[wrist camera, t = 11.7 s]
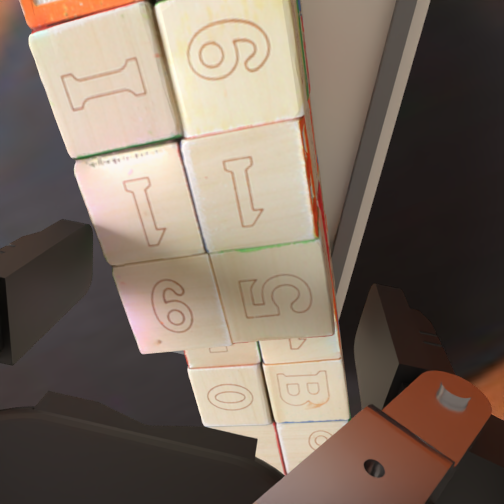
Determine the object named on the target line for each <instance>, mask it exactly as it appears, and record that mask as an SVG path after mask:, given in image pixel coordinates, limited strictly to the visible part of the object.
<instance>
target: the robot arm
mask: <svg viewBox="0 0 504 504" xmlns="http://www.w3.org/2000/svg"><path fill="white" fill-rule="evenodd" d="M92 268H93V232H92V228H91V226H90V225H89V224H84V223H79V222H74V221H69V220H64V219H62V220H60V221H58V222H56V223H54V224H53V225H51V226H49V227H48V228H46V229H44V230H42V231H41V232H37V233H34V234H30V235H26V236H23V237H21V238H19V239H17V240H15V241H14V242H12V243H10V244H9V246H5V247H3V248H1V249H0V363H3V364H7V365H12V366H13V365H14V364H15V363H16V362H17V361H18V360H19V359H20V358H21V357H22V356H23V355H24V354H25V353H26V352H27V351H28V350H29V349H30V348H31V347H32V346H33V345H34V344H35V343H36V342H37V341H38V340H39V339H40V338H41V337H43V336H44V335H45V334H46V333H47V332H48V331H49V330H50V329H51V328H52V327H53V326H54V325H55V324H56V323H57V322H58V321H59V320H60V319H61V318H62V317H63V316H64V315H65V314H66V313H67V312H68V311H69V310H70V309H71V308H72V307H73V306H74V305H75V304H76V303H77V302H78V301H79V300H80V299H81V298H82V297H83V296H84V295H85V294H86V293H87V291H88V289H89V287H90V284H91V281H92ZM436 335H437V334H436V332H435V330H434V328H433V326H432V324H431V322H430V321H429V320H428V319H427V318H426V317H425V316H424V315H423V314H422V313H421V312H420V311H419V310H415V309H410V308H409V305H408V303H407V300H406V298H405V295H404V293H403V291H402V289H399V288H395V287H390V286H385V285H380V284H375V283H374V284H373V285H372V286H371V288H370V291H369V294H368V297H367V300H366V303H365V306H364V309H363V313H362V316H361V319H360V322H359V325H358V329H357V332H356V336H355V342H354V357H355V364H356V371H357V377H358V384H359V391H360V398H361V405H362V411H360V412H359V413H358V414H357V415H356V416H355V417H353V418H352V419H351V420H350V421H349V422H348V423H346V424H345V425H344V426H343V427H342V428H341V429H339V430H338V431H337V432H336V433H335V434H334V435H332V436H331V437H330V438H329V439H328V440H327V441H325V442H324V443H323V444H322V445H321V446H320V447H318V448H317V449H316V450H315V451H314V452H312V453H311V454H310V455H309V456H308V457H307V458H305V459H304V460H303V461H302V462H301V463H300V464H298V465H297V466H296V467H295V468H294V469H293V470H291V471H290V472H289V473H288V474H287V475H286V476H285V475H284V474H283V473H281V472H280V471H279V470H277V469H276V468H275V467H273V466H271V465H270V464H268V463H267V462H265V461H263V460H261V459H259V458H257V457H255V455H256V448H257V441H258V439H257V438H252V437H248V436H243V435H239V434H235V433H230V432H226V431H222V430H217V429H213V428H208V427H190V426H149V425H144V424H142V423H140V422H138V421H136V420H134V419H132V418H130V417H128V416H125V415H123V414H121V413H119V412H117V411H115V410H113V409H111V408H109V407H107V406H105V405H103V404H101V403H99V402H95V401H90V400H86V399H82V398H77V397H73V396H69V395H64V394H60V393H55V392H51V391H48V392H47V393H46V394H45V396H44V397H43V398H42V399H41V400H40V402H39V403H38V404H37V405H36V406H29V407H16V408H9V409H3V410H0V504H504V421H503V420H501V419H499V418H497V417H495V416H493V415H492V414H491V413H492V408H491V404H490V402H489V400H488V399H487V398H486V396H485V395H484V394H483V393H482V392H481V391H480V390H479V389H478V388H477V387H475V386H474V385H473V384H471V383H470V382H468V381H466V380H465V379H463V378H461V377H459V376H456V375H455V373H454V371H453V368H452V366H451V364H450V362H449V360H448V358H447V356H446V353H445V351H444V349H443V347H441V343H440V341H439V338H438V337H436Z"/></svg>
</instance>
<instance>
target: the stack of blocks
mask: <svg viewBox="0 0 504 504" xmlns="http://www.w3.org/2000/svg"><path fill="white" fill-rule="evenodd" d="M19 1H20V4H21V7H22V10H23V13H24V16H25V19H26V22H27V24H28V26H29V27H30V28H31V30H32V33H31V35H30V36H29V46H30V49H31V51H32V54H33V56H34V59H35V62H36V65H37V68H38V71H39V74H40V77H41V80H42V82H43V85H44V87H45V90H46V93H47V96H48V99H49V101H50V104H51V107H52V110H53V113H54V116H55V119H56V122H57V124H58V127H59V129H60V132H61V135H62V137H63V140H64V143H65V145H66V148H67V151H68V153H69V155H70V157H71V158H73V159H75V160H76V164H75V166H74V175H75V177H76V179H77V182H78V185H79V189H80V192H81V194H82V197H83V199H84V202H85V204H86V207H87V210H88V213H89V216H90V219H91V221H92V224H93V226H94V229H95V232H96V234H97V237H98V240H99V243H100V246H101V249H102V251H103V254H104V257H105V259H106V261H107V262H108V263H109V264H110V265H111V266H112V275H113V278H114V281H115V284H116V287H117V289H118V292H119V295H120V298H121V300H122V303H123V306H124V309H125V311H126V314H127V317H128V320H129V323H130V326H131V328H132V331H133V333H134V336H135V339H136V341H137V344H138V347H139V350H140V352H141V353H142V354H149V353H160V352H171V351H182V350H184V354H185V357H186V361H187V364H188V374H189V378H190V381H191V384H192V388H193V391H194V395H195V398H196V402H197V405H198V408H199V412H200V415H201V418H202V422H203V424H204V426H206V427H208V428H213V429H217V430H222V431H226V432H230V433H235V434H239V435H243V436H248V437H252V438H257V439H258V441H257V448H256V455H255V457H257V458H259V459H261V460H263V461H265V462H267V463H268V464H270V465H271V466H273V467H275V468H276V469H277V470H279V471H280V472H281V473H283V474H284V475H287V474H288V473H289V472H290V471H291V470H293V469H294V468H295V467H296V466H297V465H298V464H300V463H301V462H302V461H303V460H304V459H305V458H307V457H308V456H309V455H310V454H311V453H312V452H314V451H315V450H316V449H317V448H318V447H320V446H321V445H322V444H323V443H324V442H325V441H327V440H328V439H329V438H330V437H331V436H332V435H334V434H335V433H336V432H337V431H338V430H339V429H341V428H342V427H343V426H344V425H345V424H346V423H348V422H349V421H350V420H351V415H350V408H349V401H348V393H347V384H346V377H345V369H344V361H343V353H342V345H341V337H340V328H339V319H338V310H337V302H336V292H335V281H334V273H333V266H332V258H331V251H330V243H329V236H328V228H327V220H326V211H325V210H324V202H323V193H322V185H321V178H320V170H319V163H318V156H317V149H316V141H315V133H314V124H313V116H312V108H311V99H310V90H311V89H310V79H309V70H308V62H307V53H306V44H305V35H304V27H303V11H302V3H301V0H19Z"/></svg>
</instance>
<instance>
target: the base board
mask: <svg viewBox="0 0 504 504" xmlns="http://www.w3.org/2000/svg"><path fill="white" fill-rule="evenodd" d="M301 3H302V11H303V27H304V35H305V44H306V53H307V62H308V70H309V79H310V89H311V90H310V99H311V108H312V116H313V124H314V133H315V141H316V149H317V156H318V163H319V170H320V178H321V185H322V193H323V202H324V210H325V211H326V220H327V228H328V236H329V243H330V251H331V258H332V266H333V273H334V281H335V292H336V302H337V310H338V319H339V318H340V314H341V311H342V307H343V304H344V300H345V297H346V293H347V290H348V286H349V283H350V279H351V276H352V272H353V269H354V265H355V262H356V258H357V255H358V251H359V248H360V244H361V241H362V237H363V234H364V230H365V227H366V223H367V220H368V216H369V213H370V209H371V206H372V202H373V199H374V195H375V192H376V188H377V185H378V182H379V178H380V175H381V171H382V168H383V164H384V161H385V157H386V154H387V150H388V147H389V143H390V140H391V136H392V133H393V129H394V126H395V122H396V119H397V115H398V112H399V108H400V105H401V101H402V98H403V94H404V91H405V87H406V84H407V80H408V77H409V73H410V70H411V66H412V63H413V59H414V56H415V52H416V49H417V45H418V42H419V38H420V35H421V31H422V28H423V24H424V21H425V17H426V14H427V10H428V7H429V3H430V0H301ZM171 352H175V353H180V354H184V350H182V351H171Z"/></svg>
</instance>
